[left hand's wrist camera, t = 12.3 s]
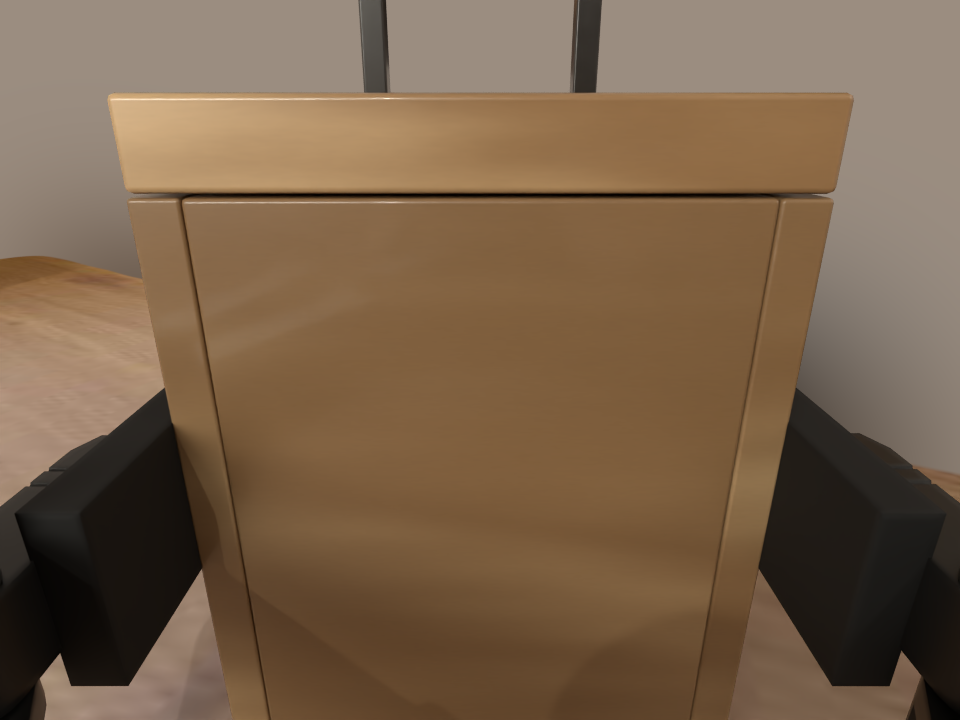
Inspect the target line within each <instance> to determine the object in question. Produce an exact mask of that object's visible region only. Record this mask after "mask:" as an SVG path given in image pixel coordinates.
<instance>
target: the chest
mask: <svg viewBox="0 0 960 720" xmlns="http://www.w3.org/2000/svg"><path fill="white" fill-rule="evenodd" d="M127 204H128V209H129V214H130V219H131V224H132V229H133V234H134V239H135V244H136V249H137V253H138V258H139V263H140V268H141V273H142V278H143V283H144V288H145V293H146V298H147V302H148V307H149V312H150V317H151V322H152V327H153V332H154V337H155V342H156V347H157V351H158V356H159V361H160V366H161V371H162V376H163V381H164V386H165V391H166V396H167V400H168V405H169V410H170V415H171V420H172V423H173V428H174V433H175V437H176V442H177V447H178V452H179V457H180V462H181V467H182V472H183V477H184V482H185V486H186V491H187V496H188V501H189V506H190V511H191V516H192V521H193V526H194V531H195V535H196V540H197V545H198V550H199V555H200V560H201V565H202V572H203V577H204V582H205V587H206V591H207V596H208V601H209V606H210V611H211V616H212V621H213V626H214V631H215V636H216V640H217V645H218V650H219V655H220V660H221V665H222V670H223V675H224V680H225V685H226V689H227V694H228V699H229V704H230V709H231V714H232V719H233V720H728V716H729V711H730V706H731V701H732V696H733V691H734V686H735V682H736V677H737V672H738V667H739V662H740V657H741V652H742V647H743V643H744V638H745V633H746V628H747V623H748V618H749V613H750V608H751V604H752V599H753V594H754V589H755V584H756V579H757V574H758V569H759V568H758V567H759V562H760V557H761V552H762V547H763V543H764V538H765V533H766V528H767V523H768V518H769V513H770V508H771V503H772V499H773V494H774V489H775V484H776V479H777V474H778V469H779V464H780V459H781V455H782V450H783V445H784V440H785V435H786V430H787V425H788V422H789V418H790V413H791V409H792V404H793V399H794V394H795V389H796V384H797V379H798V374H799V370H800V365H801V360H802V355H803V350H804V345H805V340H806V335H807V330H808V326H809V321H810V316H811V311H812V306H813V301H814V296H815V292H816V287H817V282H818V277H819V272H820V267H821V262H822V257H823V252H824V248H825V243H826V238H827V233H828V228H829V223H830V218H831V213H832V208H833V204H834V203H833V200H832V199H830V198H827V197H822V196H817V195H812V194H147V195H142V196H137V197H133V198H130V199H128V200H127Z"/></svg>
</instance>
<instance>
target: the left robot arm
mask: <svg viewBox="0 0 960 720" xmlns="http://www.w3.org/2000/svg"><path fill="white" fill-rule="evenodd" d="M758 568H759V570H760V571H761V573H762V574H763V576H764V578H765V579H766V581H767V582H768V584H769V586H770V587H771V589H772V590H773V592H774V594H775V595H776V597H777V598H778V600H779V602H780V603H781V605H782V606H783V608H784V610H785V611H786V613H787V614H788V616H789V617H790V619H791V621H792V622H793V624H794V625H795V627H796V629H797V630H798V632H799V633H800V635H801V637H802V638H803V640H804V641H805V643H806V645H807V646H808V648H809V649H810V651H811V653H812V654H813V656H814V657H815V659H816V661H817V662H818V664H819V665H820V667H821V669H822V670H823V672H824V673H825V675H826V677H827V678H828V680H829V681H830V683H831V685H832V686H890V683H891V680H892V677H893V674H894V671H895V668H896V665H897V662H898V659H899V656H900V653H901V650H902V652H903V653H904V654H905V655H906V657H907V658H908V659H909V660H910V662H911V663H912V664H913V665H914V667H915V668H916V669H917V670H918V672H919V673H920V674H921V675H922V676H921V678H920V681H919V684H918V687H917V690H916V693H915V695H914V698H913V701H912V704H911V707H910V709H909V712H908V715H907V718H906V720H960V503H959V502H958V501H956V500H955V499H954V498H953V497H951V496H950V495H949V494H948V493H946V492H945V491H944V490H943V489H941V488H940V487H939V486H937V485H936V484H931V480H930V479H929V478H927V477H926V476H925V475H924V474H922V473H921V472H920V471H918V470H917V469H913V468H912V465H911V464H910V463H908V462H907V461H906V460H905V459H903V458H902V457H901V456H900V455H898V454H897V453H896V452H894V451H893V450H892V449H891V448H889V447H887V446H885V445H883V444H880V443H878V442H876V441H874V440H872V439H870V438H868V437H866V436H864V435H862V434H860V433H850V432H848V431H847V430H846V429H845V428H844V427H843V426H841V425H840V424H839V423H838V422H837V421H835V420H834V419H833V418H832V417H831V416H829V415H828V414H827V413H826V412H825V411H823V410H822V409H821V408H820V407H819V406H817V405H816V404H815V403H814V402H813V401H811V400H810V399H809V398H808V397H807V396H805V395H804V394H803V393H802V392H801V391H799V390H798V389H797V388H796V389H795V394H794V399H793V404H792V409H791V413H790V418H789V422H788V425H787V430H786V435H785V440H784V445H783V450H782V455H781V459H780V464H779V469H778V474H777V479H776V484H775V489H774V494H773V499H772V503H771V508H770V513H769V518H768V523H767V528H766V533H765V538H764V543H763V547H762V552H761V557H760V562H759V567H758ZM201 569H202V565H201V560H200V555H199V550H198V545H197V540H196V535H195V531H194V526H193V521H192V516H191V511H190V506H189V501H188V496H187V491H186V486H185V482H184V477H183V472H182V467H181V462H180V457H179V452H178V447H177V442H176V437H175V433H174V428H173V423H172V420H171V415H170V410H169V405H168V400H167V396H166V391H165V388H164V389H163V390H161V391H160V392H159V393H158V394H157V395H155V396H154V397H153V398H152V399H151V400H149V401H148V402H147V403H146V404H145V405H143V406H142V407H141V408H140V409H139V410H137V411H136V412H135V413H134V414H133V415H131V416H130V417H129V418H128V419H127V420H125V421H124V422H123V423H122V424H121V425H119V426H118V427H117V428H116V429H115V430H113V431H112V432H111V433H110V434H109V435H102V436H100V437H98V438H95V439H93V440H91V441H89V442H87V443H85V444H83V445H81V446H79V447H77V448H75V449H73V450H71V451H70V452H68V453H67V454H66V455H65V456H63V457H62V458H61V459H60V460H58V461H57V462H56V463H55V464H53V465H52V466H51V467H50V468H49V471H47V472H43V473H42V474H41V475H40V476H38V477H37V478H36V479H35V480H33V481H32V482H31V485H30V487H25V488H23V489H22V490H21V491H19V492H18V493H17V494H16V495H14V496H13V497H12V498H11V499H9V500H8V501H7V502H6V503H4V504H3V505H2V506H1V507H0V720H44V717H45V711H46V699H45V693H44V690H43V687H42V684H41V681H40V677H41V676H42V675H43V674H44V672H45V671H46V670H47V669H48V667H49V666H50V665H51V664H52V662H53V661H54V660H55V659H56V657H57V656H58V655H59V654H61V657H62V660H63V663H64V666H65V669H66V672H67V675H68V678H69V681H70V684H71V686H129V684H130V682H131V681H132V679H133V678H134V676H135V674H136V673H137V671H138V670H139V668H140V666H141V665H142V663H143V662H144V660H145V659H146V657H147V655H148V654H149V652H150V651H151V649H152V647H153V646H154V644H155V643H156V641H157V639H158V638H159V636H160V635H161V633H162V631H163V630H164V628H165V627H166V625H167V623H168V622H169V620H170V619H171V617H172V615H173V614H174V612H175V611H176V609H177V607H178V606H179V604H180V603H181V601H182V599H183V598H184V596H185V595H186V593H187V591H188V590H189V588H190V587H191V585H192V583H193V582H194V580H195V579H196V577H197V575H198V574H199V572H200V571H201Z"/></svg>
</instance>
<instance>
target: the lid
mask: <svg viewBox="0 0 960 720" xmlns="http://www.w3.org/2000/svg"><path fill="white" fill-rule="evenodd" d="M601 5H602V0H574V18H573V39H572V59H571V80H570V93H390V75H389V55H388V35H387V14H386V0H359V16H360V32H361V47H362V64H363V79H364V93H112V94H110V95H109V96H108V105H109V110H110V115H111V120H112V125H113V130H114V134H115V139H116V144H117V149H118V154H119V159H120V164H121V169H122V174H123V179H124V184H125V187H126V189H127V191H129V192H131V193H134V194H827V193H830V192H833V191H834V190H835V188H836V185H837V180H838V175H839V170H840V165H841V160H842V155H843V150H844V145H845V141H846V136H847V131H848V126H849V121H850V116H851V111H852V106H853V101H854V100H853V96H852V95H850V94H848V93H596V84H597V69H598V53H599V37H600V21H601Z"/></svg>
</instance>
